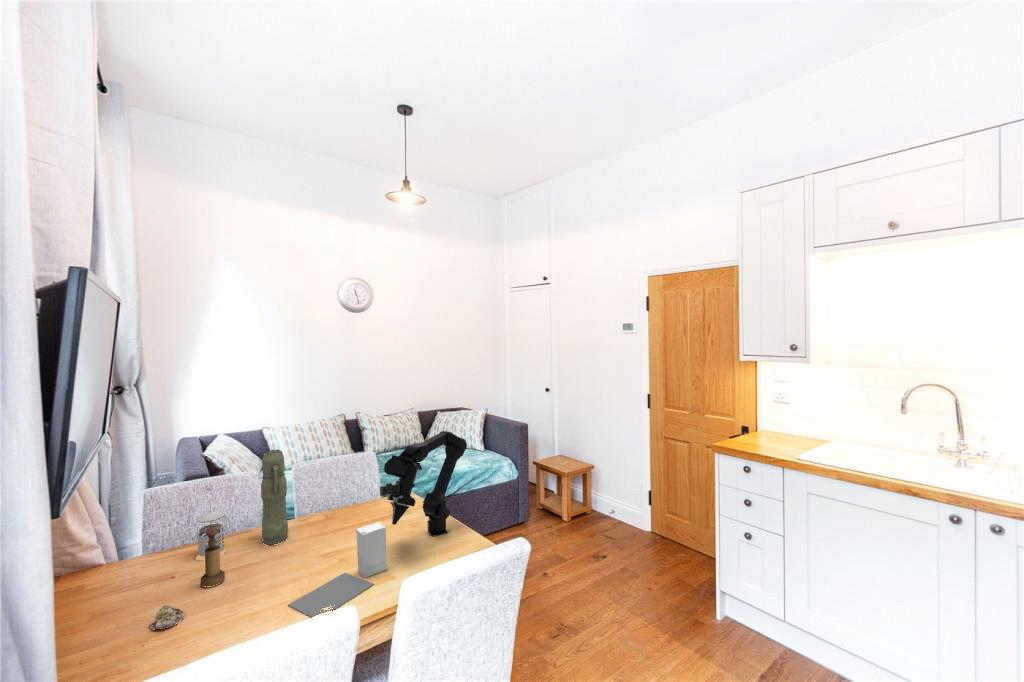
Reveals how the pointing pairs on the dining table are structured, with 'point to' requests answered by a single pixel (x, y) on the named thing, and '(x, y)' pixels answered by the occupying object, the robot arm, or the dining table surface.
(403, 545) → the dining table surface
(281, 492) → the thermos
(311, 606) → the mat
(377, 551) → the skincare box
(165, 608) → the mineral rock
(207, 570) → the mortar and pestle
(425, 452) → the robot arm
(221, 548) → the french press
